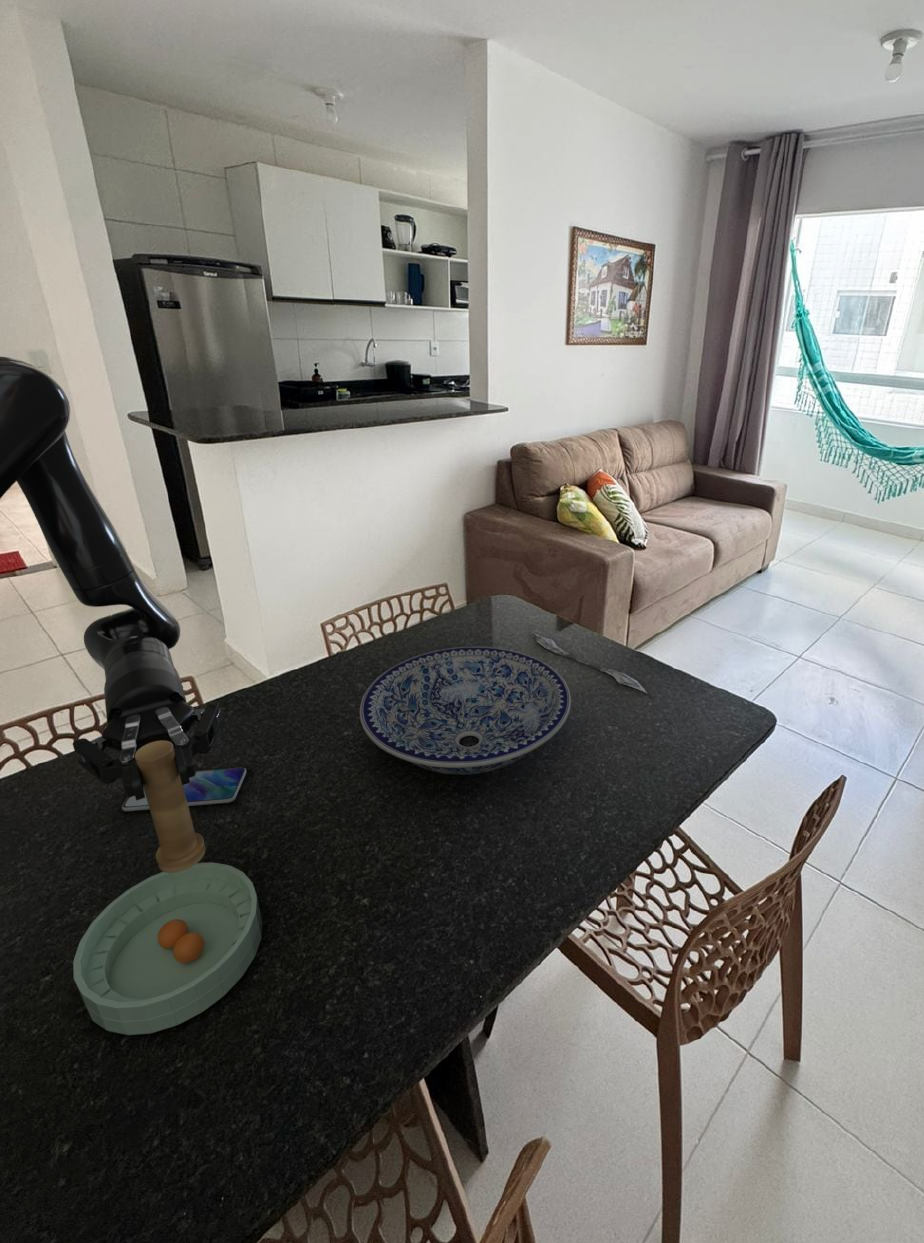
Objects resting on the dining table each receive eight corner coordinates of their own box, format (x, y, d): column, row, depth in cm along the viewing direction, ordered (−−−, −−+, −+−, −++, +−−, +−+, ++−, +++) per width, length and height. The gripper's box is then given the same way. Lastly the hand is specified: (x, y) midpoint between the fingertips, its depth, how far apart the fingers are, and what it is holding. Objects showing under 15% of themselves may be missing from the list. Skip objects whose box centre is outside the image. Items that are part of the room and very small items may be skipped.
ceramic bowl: (509, 668, 130) (510, 626, 126) (607, 767, 104) (612, 718, 100) (339, 718, 112) (333, 670, 108) (407, 852, 86) (403, 796, 82)
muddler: (148, 863, 66) (116, 756, 61) (186, 834, 70) (160, 731, 64) (177, 879, 64) (147, 770, 59) (214, 848, 68) (190, 744, 63)
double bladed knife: (534, 633, 144) (521, 641, 140) (535, 631, 143) (521, 639, 140) (657, 685, 127) (645, 696, 123) (657, 682, 127) (645, 693, 123)
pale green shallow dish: (48, 992, 67) (34, 961, 65) (194, 871, 81) (186, 843, 79) (159, 1069, 61) (148, 1038, 59) (295, 924, 76) (289, 895, 74)
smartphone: (141, 774, 96) (247, 766, 98) (142, 779, 96) (248, 770, 99) (119, 808, 89) (233, 799, 92) (120, 813, 89) (234, 803, 92)
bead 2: (183, 937, 72) (211, 940, 72) (170, 966, 70) (198, 969, 70) (179, 926, 70) (207, 929, 71) (165, 955, 68) (194, 958, 68)
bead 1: (153, 926, 72) (160, 922, 70) (183, 917, 74) (190, 913, 72) (155, 955, 71) (162, 951, 69) (185, 945, 73) (193, 941, 71)
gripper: (59, 686, 67) (59, 782, 55) (207, 651, 75) (236, 728, 63) (78, 742, 70) (81, 845, 58) (218, 703, 78) (248, 786, 66)
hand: (162, 783), depth 60 cm, fingers closed on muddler, 3 cm apart
